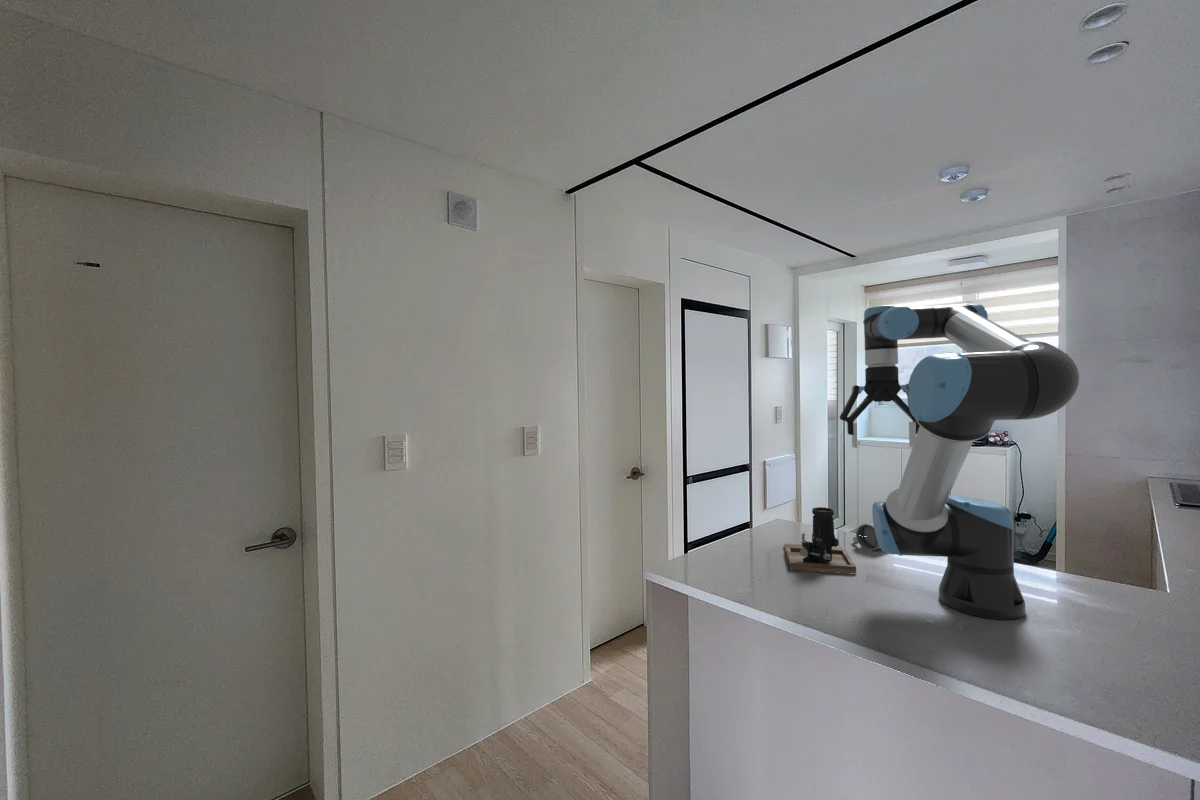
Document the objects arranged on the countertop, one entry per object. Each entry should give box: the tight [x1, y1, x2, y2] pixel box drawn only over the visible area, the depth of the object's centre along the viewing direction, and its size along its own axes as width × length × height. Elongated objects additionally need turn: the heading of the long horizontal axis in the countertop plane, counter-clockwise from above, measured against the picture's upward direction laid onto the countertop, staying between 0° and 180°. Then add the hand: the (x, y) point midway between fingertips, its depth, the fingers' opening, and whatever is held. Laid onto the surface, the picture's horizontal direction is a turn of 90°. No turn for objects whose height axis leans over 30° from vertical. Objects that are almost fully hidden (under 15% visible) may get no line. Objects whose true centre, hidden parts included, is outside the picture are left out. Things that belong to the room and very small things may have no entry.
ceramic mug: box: [852, 522, 881, 551], centre depth 150 cm, size 11×8×8 cm
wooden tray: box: [784, 543, 857, 574], centre depth 140 cm, size 20×16×2 cm
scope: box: [800, 506, 840, 564], centre depth 137 cm, size 8×14×10 cm
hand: (883, 447), depth 130 cm, fingers open, 13 cm apart
